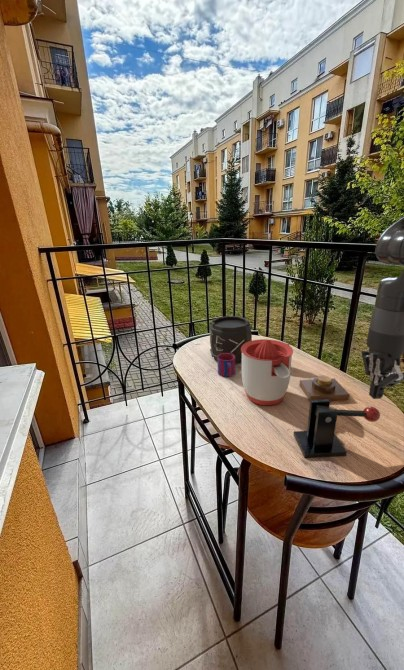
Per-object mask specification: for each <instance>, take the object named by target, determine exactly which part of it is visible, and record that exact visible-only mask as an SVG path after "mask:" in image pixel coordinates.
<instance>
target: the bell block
mask: <svg viewBox="0 0 404 670" xmlns="http://www.w3.org/2000/svg"><path fill="white" fill-rule="evenodd" d="M330 378H331V385H329V386H323V385H320V384H318V383H317V381H318V376H316V377H314V378H313V379H312V378H311V379H300V380H299V387H300V389H301V390H302V392H303V393H304V395H305V396H306V398H307V399H308V401H309V402H310V401H311V400H324V399H328V400H329V401H330V402H340V401H341V402H342V401H343V402H344V401H350V393H349V392H348V391H347V389H345V388H344V386H342V385H341V384H340V382H338V380H336V378H332V377H330Z"/></svg>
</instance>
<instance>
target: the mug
mask: <svg viewBox="0 0 404 670" xmlns="http://www.w3.org/2000/svg"><path fill="white" fill-rule="evenodd" d="M216 362H217V374H218V375H219V376H220V377H223V378H229V377H233V376H234V375H236V364H235V355H233V354H231V353H222V354H219V355H218V356H217V361H216Z"/></svg>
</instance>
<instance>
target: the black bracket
mask: <svg viewBox="0 0 404 670" xmlns="http://www.w3.org/2000/svg"><path fill="white" fill-rule="evenodd" d="M316 405H328V407H329V408H330V405H331V401H329V400H328V399H324V400H311V401H309V408H308V409H309V410H308V417H307V418H308V420H307V428H306V430H298V431H297V430H296V431H293V437H294V439H295V441H296V443H297V445H298V448H299V449H300V452H301V454H302V456H303V458H304V459H315V458H333V457H347V455H348V454H347V450H346V449H345V447H344V445H342V443H341V442H340V440H339V438H338V437H337V436H336V434H335V432H336V426H337V421H338V416H337V414H338V411H337V410H338V409H337V408H332V409H331V408H330V410H317V416H316V415H315V409H316Z"/></svg>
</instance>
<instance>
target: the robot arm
mask: <svg viewBox="0 0 404 670" xmlns="http://www.w3.org/2000/svg"><path fill="white" fill-rule="evenodd" d="M374 249H375V250H374V253H375V254H374V255H375V257H376V258H377V260H378V261H379V262H381V263H383V264H385V265H390V266H401V267H404V216H403V217H401V218H400V219H399V220H397V221H396V222H394V223H393V224H391V225H390V226H389V227H388V228H387V229H386V230H384V231H383V233H382V234H381V235H380V237H379V238H378V240H377V242H376V245H375V248H374ZM368 326H369V327H368V331H367V337H366V343H365V344H366V346H367V347H368V350H362V351H361V358H362V362H363V367H364V371H365V375H366V376H367V377H368V376H369V381H370V385H369V392H368V394H369V396H370V397H371V399H373V400H380V399H382V398H383V397H384V391H385V388H392V387H395V386H396V385H398V384H400V383H401V382H403V381H404V372H403V371H402V370H401V368H400V366H401V364H402V363H401V361H402V360H401V357H402V355H404V268H403V269H402V271H401V272H400V274H399V276H388V277H385V278H383V279H381V280H380V281H379V283H378V287H377V290H376V296H375V301H374V306H373V310H372V313H371V316H370V321H369V325H368Z"/></svg>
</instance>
